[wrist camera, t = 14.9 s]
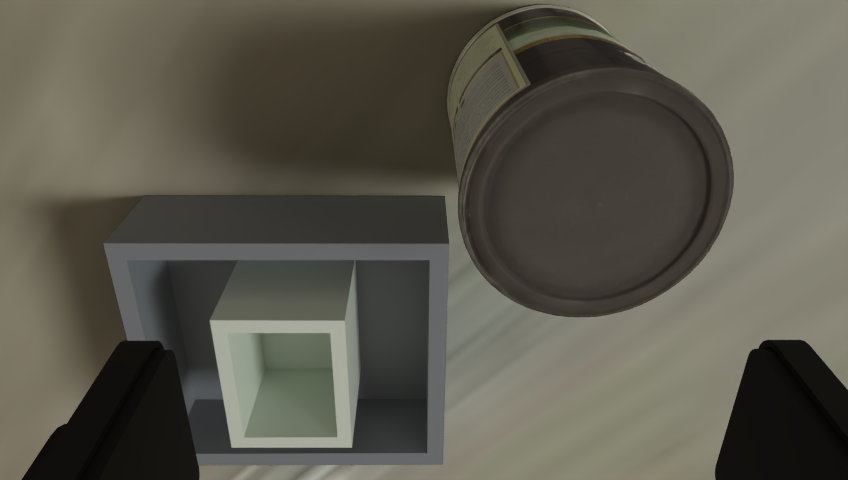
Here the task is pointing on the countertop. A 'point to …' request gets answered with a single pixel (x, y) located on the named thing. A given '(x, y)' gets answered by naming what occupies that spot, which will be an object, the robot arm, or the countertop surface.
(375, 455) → the charcoal crate
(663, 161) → the coffee can
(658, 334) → the countertop surface
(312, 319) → the sage crate
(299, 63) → the countertop surface
